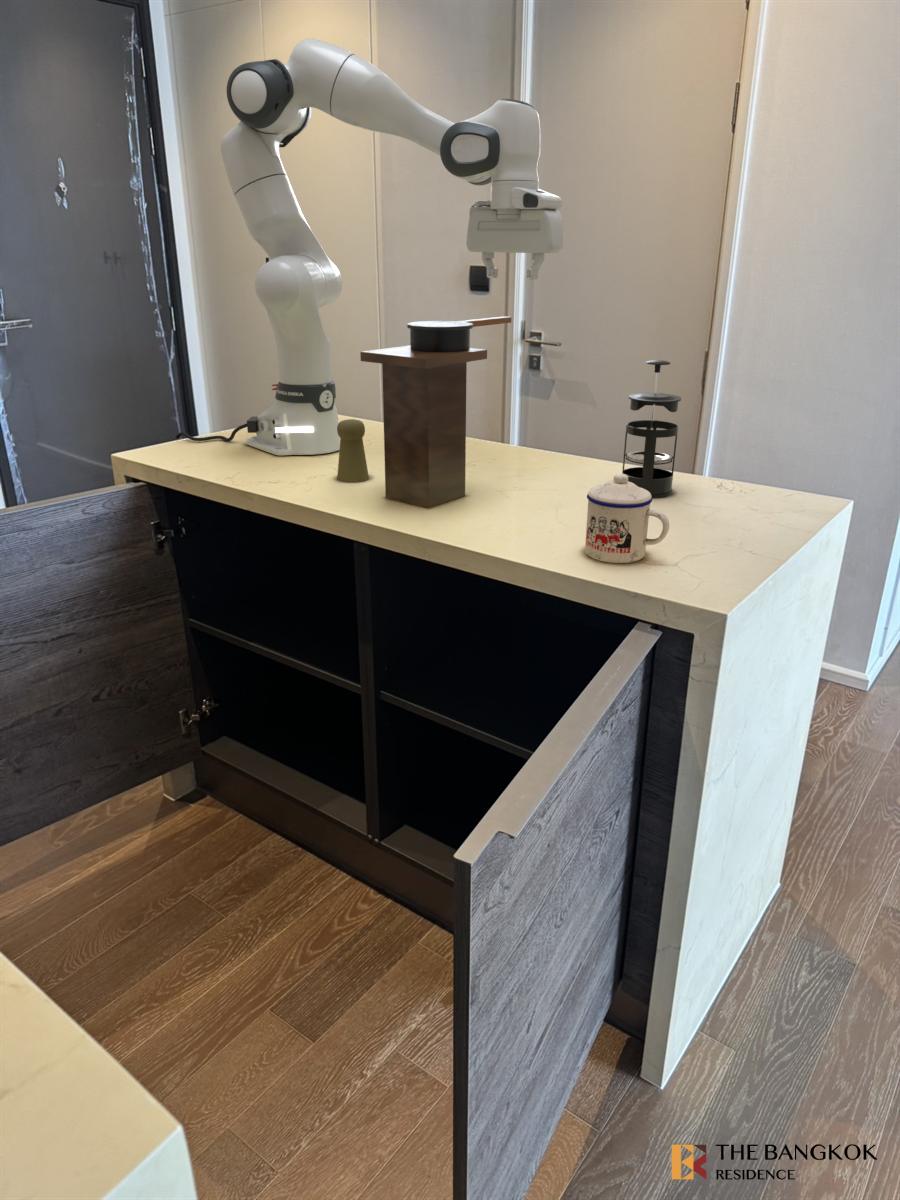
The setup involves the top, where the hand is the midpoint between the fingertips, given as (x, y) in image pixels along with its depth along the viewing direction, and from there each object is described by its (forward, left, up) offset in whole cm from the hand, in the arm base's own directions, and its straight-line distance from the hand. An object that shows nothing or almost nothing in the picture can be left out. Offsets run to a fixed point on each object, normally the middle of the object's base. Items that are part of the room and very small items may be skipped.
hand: (511, 278), depth 166 cm
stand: (+6, -33, -35) cm, 48 cm away
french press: (+34, -4, -35) cm, 49 cm away
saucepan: (+6, -22, -10) cm, 25 cm away
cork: (-13, -32, -35) cm, 49 cm away
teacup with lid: (+48, -38, -35) cm, 71 cm away
